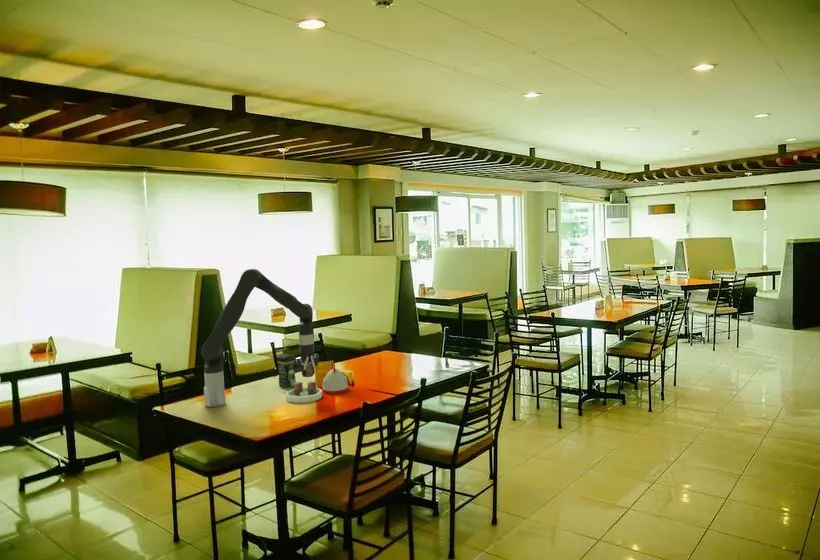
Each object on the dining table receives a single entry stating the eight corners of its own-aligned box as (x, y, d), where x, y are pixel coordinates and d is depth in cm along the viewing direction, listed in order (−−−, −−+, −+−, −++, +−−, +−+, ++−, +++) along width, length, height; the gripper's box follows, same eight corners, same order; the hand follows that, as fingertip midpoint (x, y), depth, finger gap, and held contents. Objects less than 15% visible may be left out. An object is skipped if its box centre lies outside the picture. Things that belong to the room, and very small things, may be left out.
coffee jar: (276, 386, 322) (274, 354, 320) (288, 383, 328) (286, 352, 326) (287, 389, 315) (284, 356, 314) (298, 386, 321) (296, 353, 320)
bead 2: (311, 395, 297) (310, 384, 296) (306, 394, 300) (305, 382, 299) (318, 393, 300) (317, 382, 299) (313, 392, 303) (312, 381, 302)
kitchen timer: (347, 386, 316) (346, 359, 315) (348, 392, 302) (347, 365, 301) (322, 388, 314) (321, 361, 313) (322, 395, 300) (321, 367, 299)
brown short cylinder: (307, 377, 288) (306, 366, 288) (302, 376, 292) (301, 365, 291) (314, 375, 292) (313, 364, 291) (309, 374, 295) (308, 363, 294)
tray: (299, 405, 283) (299, 399, 283) (279, 398, 296) (279, 393, 296) (329, 396, 296) (328, 391, 296) (308, 391, 309) (308, 385, 309)
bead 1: (297, 395, 297) (296, 384, 296) (292, 394, 300) (292, 383, 299) (304, 394, 300) (303, 382, 299) (300, 392, 303) (299, 381, 302)
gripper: (298, 346, 283) (301, 379, 284) (322, 341, 293) (324, 373, 294) (290, 344, 288) (292, 377, 289) (313, 340, 298) (315, 371, 299)
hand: (308, 375), depth 292 cm, fingers closed on brown short cylinder, 4 cm apart
